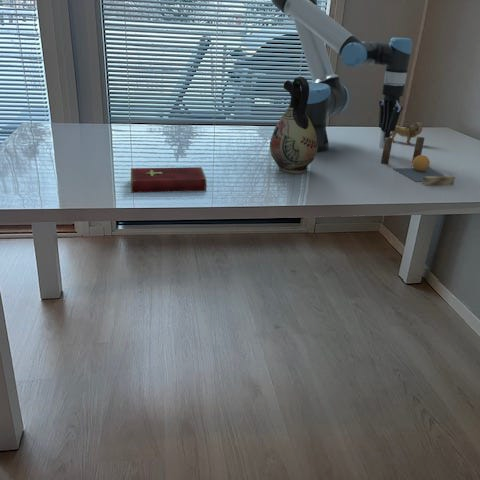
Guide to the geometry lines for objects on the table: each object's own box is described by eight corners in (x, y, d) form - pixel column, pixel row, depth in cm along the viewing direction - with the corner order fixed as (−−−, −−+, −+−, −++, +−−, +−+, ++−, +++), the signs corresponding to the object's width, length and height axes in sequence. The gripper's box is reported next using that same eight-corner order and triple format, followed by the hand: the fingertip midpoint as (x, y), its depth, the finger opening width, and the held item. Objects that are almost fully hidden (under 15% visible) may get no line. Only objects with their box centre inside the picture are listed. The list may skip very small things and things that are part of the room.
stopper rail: (425, 185, 152) (427, 178, 151) (421, 183, 153) (423, 176, 152) (453, 184, 154) (455, 177, 153) (449, 182, 156) (451, 175, 155)
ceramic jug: (260, 164, 165) (266, 72, 152) (301, 162, 170) (310, 72, 157) (282, 180, 151) (290, 79, 138) (325, 176, 156) (337, 79, 143)
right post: (414, 163, 175) (419, 138, 171) (410, 161, 177) (415, 136, 173) (420, 163, 176) (426, 138, 172) (416, 161, 178) (421, 136, 174)
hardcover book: (206, 192, 139) (206, 178, 137) (131, 194, 135) (130, 180, 133) (201, 179, 150) (201, 166, 148) (131, 180, 146) (130, 167, 144)
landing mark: (415, 182, 155) (415, 181, 155) (393, 169, 167) (393, 168, 167) (453, 180, 158) (453, 179, 158) (428, 167, 170) (428, 167, 170)
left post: (383, 164, 172) (387, 139, 168) (379, 162, 174) (383, 137, 170) (389, 164, 173) (394, 139, 169) (386, 162, 175) (390, 137, 171)
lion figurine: (419, 143, 204) (423, 121, 200) (418, 146, 199) (423, 124, 195) (383, 139, 208) (387, 117, 204) (382, 141, 204) (385, 120, 200)
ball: (409, 154, 166) (408, 170, 167) (420, 156, 161) (419, 172, 162) (422, 154, 168) (421, 169, 169) (433, 155, 163) (432, 171, 164)
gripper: (413, 86, 171) (400, 152, 181) (394, 81, 182) (383, 143, 192) (394, 86, 169) (382, 153, 179) (376, 81, 180) (366, 144, 190)
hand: (383, 148), depth 185 cm, fingers closed
